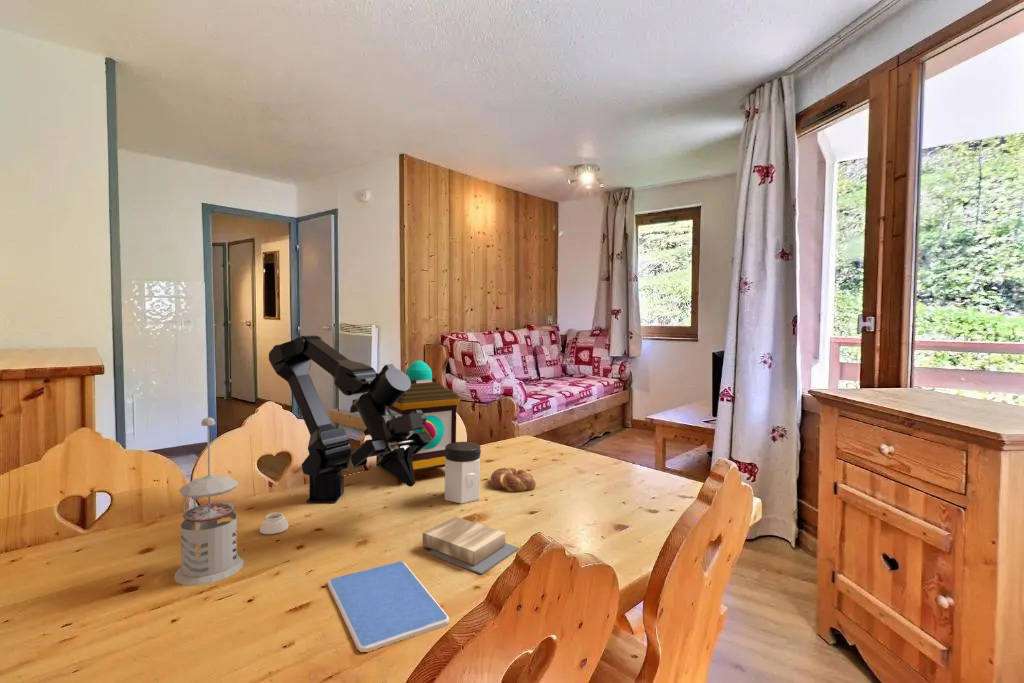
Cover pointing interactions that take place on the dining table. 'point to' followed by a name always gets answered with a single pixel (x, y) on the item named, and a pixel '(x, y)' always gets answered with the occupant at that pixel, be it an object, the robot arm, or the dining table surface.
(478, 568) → the mat
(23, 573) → the dining table surface
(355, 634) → the tablet computer
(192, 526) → the french press
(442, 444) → the decorative lantern
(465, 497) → the jar
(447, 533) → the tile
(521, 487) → the pretzel
